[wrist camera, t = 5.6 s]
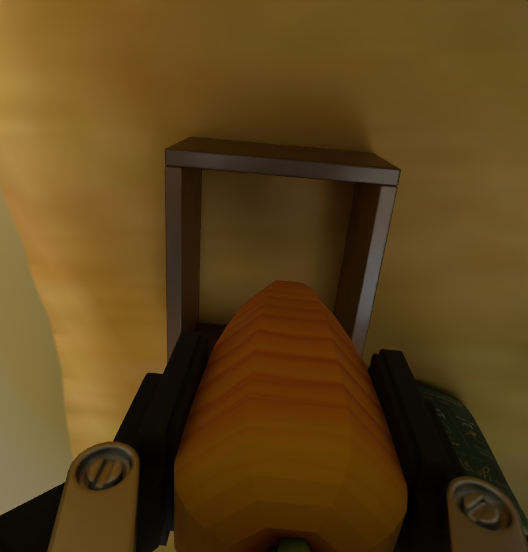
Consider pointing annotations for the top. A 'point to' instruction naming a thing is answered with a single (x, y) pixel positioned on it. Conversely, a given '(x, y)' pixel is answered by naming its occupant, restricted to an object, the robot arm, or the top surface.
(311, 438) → the carrot
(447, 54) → the top surface
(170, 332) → the pen box
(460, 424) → the coffee jar
